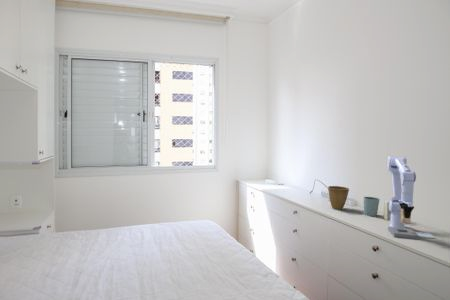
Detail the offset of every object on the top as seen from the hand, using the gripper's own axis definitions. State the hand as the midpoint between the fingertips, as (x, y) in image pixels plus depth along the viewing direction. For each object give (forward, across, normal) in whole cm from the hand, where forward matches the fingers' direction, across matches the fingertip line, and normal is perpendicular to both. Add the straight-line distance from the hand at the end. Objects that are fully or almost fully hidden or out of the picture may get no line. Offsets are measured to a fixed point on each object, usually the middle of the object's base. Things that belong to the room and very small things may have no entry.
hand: (405, 217), depth 179 cm
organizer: (+10, 0, -1) cm, 10 cm away
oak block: (+3, 0, 0) cm, 3 cm away
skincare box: (+10, -35, -1) cm, 36 cm away
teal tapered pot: (+10, -44, -11) cm, 46 cm away
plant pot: (+10, -55, -32) cm, 65 cm away
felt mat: (+10, -2, +10) cm, 14 cm away
